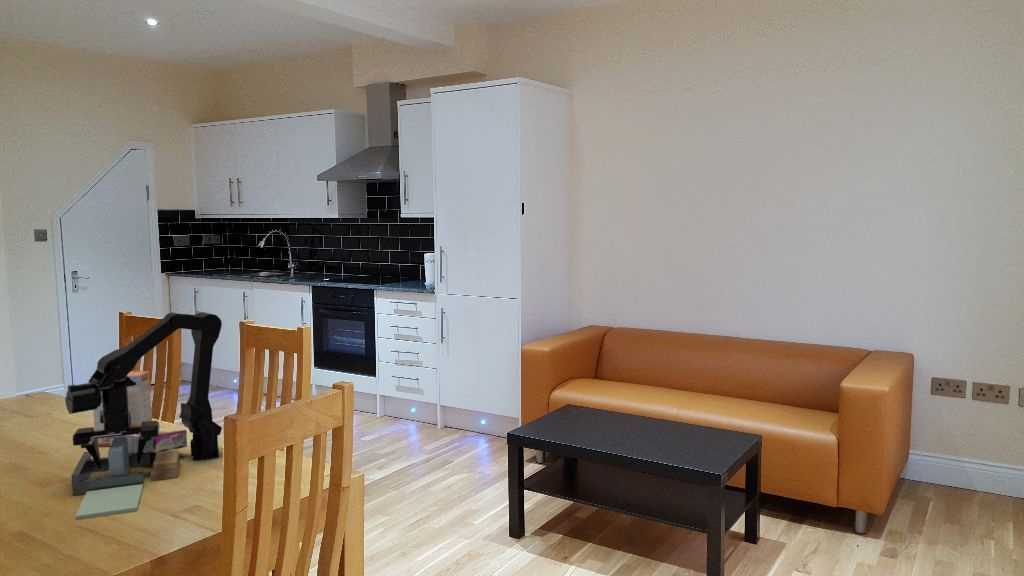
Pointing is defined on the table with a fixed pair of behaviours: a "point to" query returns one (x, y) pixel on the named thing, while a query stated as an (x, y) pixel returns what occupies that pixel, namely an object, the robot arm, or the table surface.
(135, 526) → the table surface
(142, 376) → the cracker box
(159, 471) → the offcut pile
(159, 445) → the candy bar box
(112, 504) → the mat
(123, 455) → the grey panel
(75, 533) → the table surface
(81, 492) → the rack
